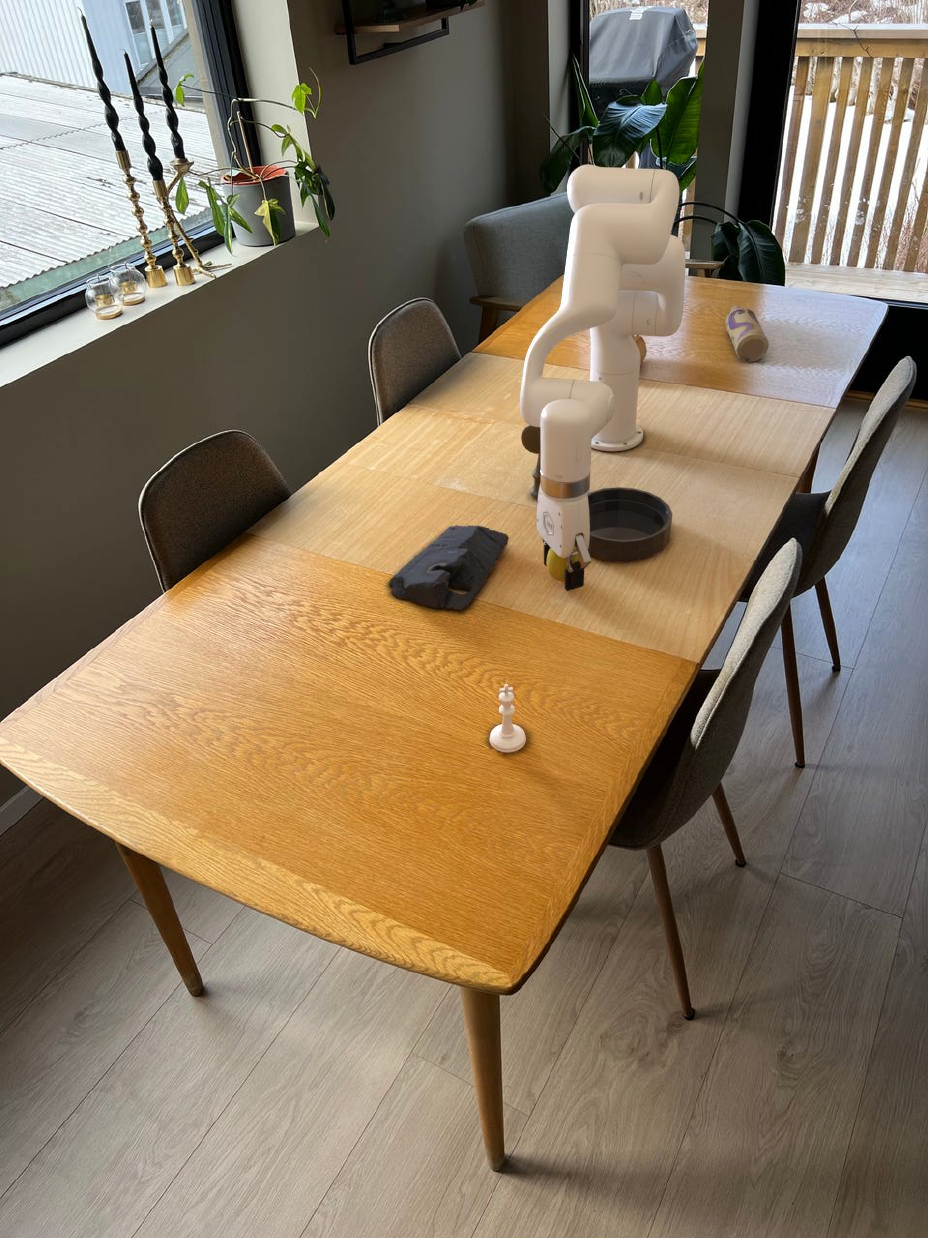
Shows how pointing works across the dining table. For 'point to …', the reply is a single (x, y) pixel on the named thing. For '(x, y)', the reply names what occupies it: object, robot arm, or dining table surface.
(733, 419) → the dining table surface
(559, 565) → the lemon
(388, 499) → the dining table surface
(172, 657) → the dining table surface
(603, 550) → the pan
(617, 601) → the dining table surface
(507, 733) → the chess piece
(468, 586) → the dark slate chunk
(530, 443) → the kendama
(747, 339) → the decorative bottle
